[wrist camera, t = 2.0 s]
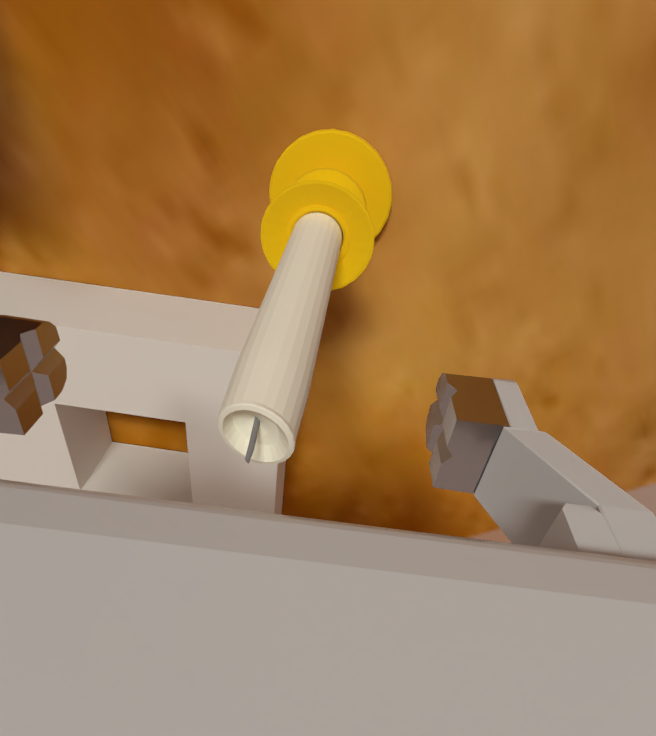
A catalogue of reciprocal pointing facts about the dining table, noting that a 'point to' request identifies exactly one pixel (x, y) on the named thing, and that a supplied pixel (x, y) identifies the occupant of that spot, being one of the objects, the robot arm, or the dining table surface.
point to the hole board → (137, 395)
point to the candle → (302, 282)
